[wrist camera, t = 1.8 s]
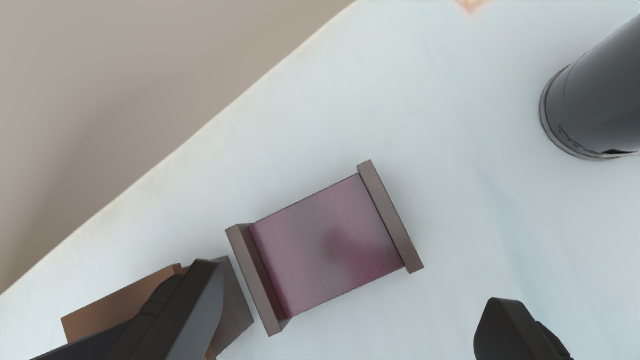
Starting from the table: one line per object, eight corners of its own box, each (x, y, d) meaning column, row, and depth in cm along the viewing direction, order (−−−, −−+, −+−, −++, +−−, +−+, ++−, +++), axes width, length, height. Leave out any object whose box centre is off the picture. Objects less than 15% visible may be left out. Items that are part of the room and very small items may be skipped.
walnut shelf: (227, 250, 35) (171, 264, 25) (257, 325, 33) (210, 370, 24) (145, 289, 36) (59, 318, 26) (172, 363, 34) (92, 423, 24)
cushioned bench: (370, 171, 33) (370, 159, 26) (411, 255, 32) (424, 267, 24) (255, 226, 34) (224, 229, 27) (291, 310, 33) (268, 337, 26)
